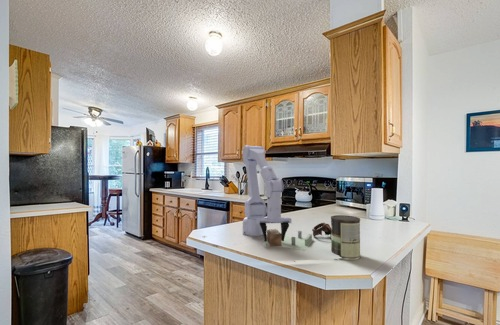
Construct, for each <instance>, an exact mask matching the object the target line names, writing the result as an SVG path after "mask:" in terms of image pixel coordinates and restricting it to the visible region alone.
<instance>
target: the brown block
mask: <svg viewBox="0 0 500 325" xmlns="http://www.w3.org/2000/svg"><path fill="white" fill-rule="evenodd" d="M266 235H267V241H268V243H269V245H270V247H276V246H281V231H279V230H278V229H276V228H274V229H273V228H272V229H267V232H266ZM269 245H268V246H269Z"/></svg>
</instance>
